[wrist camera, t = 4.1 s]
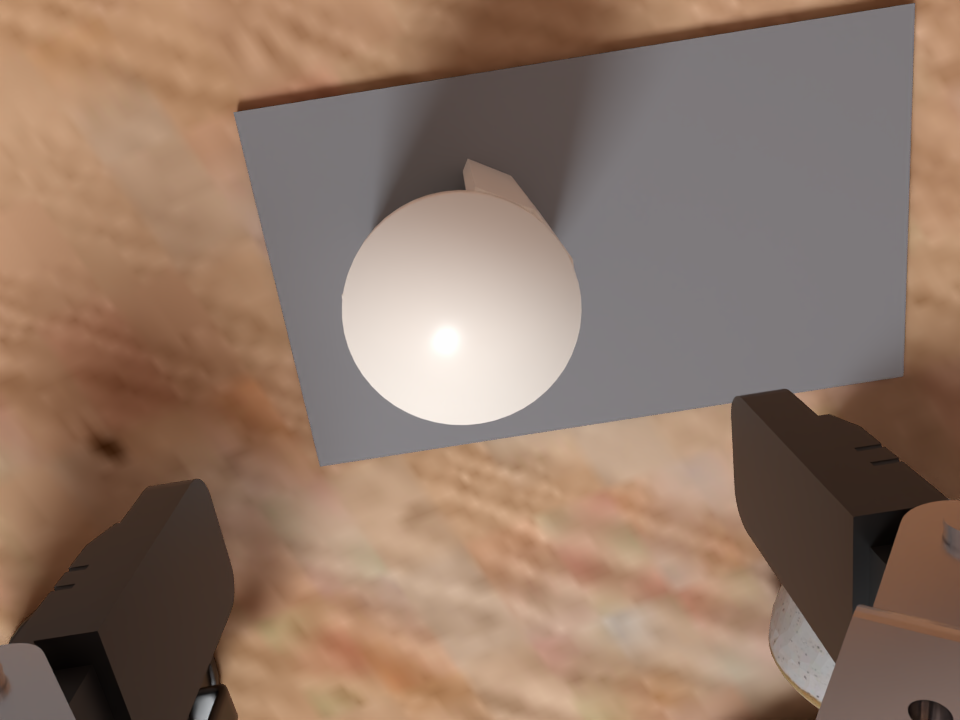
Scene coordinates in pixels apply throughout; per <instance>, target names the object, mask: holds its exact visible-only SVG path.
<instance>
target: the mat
mask: <svg viewBox="0 0 960 720" xmlns="http://www.w3.org/2000/svg"><path fill="white" fill-rule="evenodd" d="M914 20H915V3H912V4H906V5H899V6H893V7H887V8H881V9H875V10H868V11H862V12H856V13H850V14H843V15H837V16H831V17H825V18H818V19H812V20H806V21H800V22H794V23H787V24H781V25H775V26H769V27H762V28H756V29H750V30H744V31H738V32H731V33H725V34H719V35H713V36H706V37H700V38H694V39H688V40H681V41H675V42H669V43H663V44H657V45H650V46H644V47H638V48H632V49H625V50H619V51H613V52H607V53H601V54H594V55H588V56H582V57H576V58H569V59H563V60H557V61H551V62H544V63H538V64H532V65H526V66H520V67H513V68H507V69H501V70H495V71H488V72H482V73H476V74H470V75H464V76H457V77H451V78H445V79H439V80H432V81H426V82H420V83H414V84H408V85H401V86H395V87H389V88H383V89H376V90H370V91H364V92H358V93H351V94H345V95H339V96H333V97H327V98H320V99H314V100H308V101H302V102H295V103H289V104H283V105H277V106H271V107H264V108H258V109H252V110H246V111H239V112H234V116H235V120H236V124H237V128H238V133H239V137H240V141H241V145H242V149H243V153H244V157H245V161H246V165H247V169H248V173H249V178H250V182H251V186H252V190H253V194H254V198H255V202H256V206H257V210H258V214H259V218H260V222H261V227H262V231H263V235H264V239H265V243H266V247H267V251H268V255H269V259H270V263H271V267H272V272H273V276H274V280H275V284H276V288H277V292H278V296H279V300H280V304H281V308H282V312H283V317H284V321H285V325H286V329H287V333H288V337H289V341H290V345H291V349H292V353H293V357H294V362H295V366H296V370H297V374H298V378H299V382H300V386H301V390H302V394H303V398H304V402H305V407H306V411H307V415H308V419H309V423H310V427H311V431H312V435H313V439H314V443H315V447H316V451H317V456H318V460H319V464H320V466H327V465H333V464H340V463H346V462H353V461H359V460H365V459H372V458H378V457H385V456H391V455H398V454H404V453H411V452H417V451H424V450H430V449H437V448H443V447H450V446H456V445H463V444H469V443H476V442H482V441H488V440H495V439H501V438H508V437H514V436H521V435H527V434H534V433H540V432H547V431H553V430H560V429H566V428H573V427H579V426H586V425H592V424H598V423H605V422H611V421H618V420H624V419H631V418H637V417H644V416H650V415H657V414H663V413H670V412H676V411H683V410H689V409H696V408H702V407H708V406H715V405H721V404H728V403H732V402H733V399H734V397H736V396H740V395H747V394H753V393H759V392H766V391H772V390H779V389H788V390H789V391H791V392H792V393H799V392H806V391H812V390H818V389H825V388H831V387H838V386H844V385H851V384H857V383H864V382H870V381H877V380H883V379H890V378H896V377H903V373H904V341H905V309H906V277H907V245H908V213H909V180H910V148H911V116H912V84H913V52H914ZM467 159H470V160H473V161H475V162H478V163H480V164H483V165H485V166H488V167H490V168H493V169H495V170H498V171H500V172H503V173H505V174H508V175H510V176H512V177H513V179H514V180H515V181H516V183H517V184H518V185H519V186H520V188H521V189H522V190H523V192H524V193H525V194H526V196H527V197H528V198H529V199H530V201H531V202H532V203H533V205H534V206H535V207H536V209H537V210H538V211H539V212H540V214H541V215H542V217H543V218H544V219H545V221H546V222H547V224H548V225H549V226H550V228H551V229H552V231H553V232H554V233H555V235H556V236H557V238H558V239H559V240H560V242H561V243H562V245H563V246H564V247H565V249H566V250H567V252H568V253H569V254H570V256H571V257H572V259H573V264H574V270H575V273H576V276H577V280H578V283H579V289H580V294H581V309H582V313H581V324H580V330H579V334H578V339H577V342H576V345H575V348H574V350H573V353H572V356H571V358H570V359H569V361H568V363H567V365H566V367H565V369H564V370H563V372H562V373H561V374H560V376H559V377H558V379H557V380H556V381H555V382H554V383H553V384H552V386H551V387H550V388H549V389H548V390H547V391H546V392H545V393H544V394H542V395H541V396H540V397H539V398H538V399H536V400H535V401H534V402H532V403H531V404H529V405H528V406H526V407H525V408H523V409H521V410H519V411H517V412H515V413H513V414H511V415H509V416H506V417H504V418H501V419H498V420H495V421H490V422H486V423H481V424H472V425H449V424H443V423H436V422H432V421H428V420H425V419H421V418H419V417H416V416H414V415H411V414H409V413H407V412H405V411H403V410H402V409H400V408H398V407H396V406H394V405H393V404H392V403H390V402H389V401H388V400H386V399H385V398H384V397H382V396H381V395H380V394H379V393H378V392H377V391H376V390H375V389H374V388H373V387H372V386H371V385H370V384H369V382H368V381H367V380H366V379H365V377H364V376H363V375H362V373H361V372H360V370H359V368H358V367H357V365H356V363H355V362H354V360H353V357H352V355H351V353H350V350H349V348H348V345H347V341H346V338H345V334H344V328H343V322H342V294H343V291H344V286H345V282H346V279H347V275H348V272H349V270H350V267H351V265H352V263H353V260H354V258H355V256H356V254H357V252H358V251H359V249H360V247H361V246H362V244H363V242H364V241H365V239H366V238H367V237H368V235H369V234H370V233H371V232H372V230H373V229H374V228H375V227H376V226H377V225H378V224H379V223H380V222H381V221H382V220H383V219H384V218H385V217H387V216H388V215H389V214H391V213H392V212H394V211H395V210H396V209H398V208H399V207H401V206H403V205H405V204H407V203H409V202H411V201H412V200H415V199H418V198H420V197H423V196H426V195H429V194H434V193H438V192H442V191H453V190H466V188H465V182H464V176H463V169H464V167H465V164H466V161H467Z"/></svg>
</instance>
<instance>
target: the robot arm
mask: <svg viewBox="0 0 960 720" xmlns="http://www.w3.org/2000/svg"><path fill="white" fill-rule="evenodd" d="M731 421H732V442H733V463H734V484H735V496H736V502H737V507H738V511H739V514H740V517H741V520H742V523H743V525H744V527H745V530H746V531H747V533H748V534H749V536H750V537H751V539H752V540H753V542H754V543H755V545H756V546H757V548H758V549H759V551H760V552H761V554H762V555H763V557H764V558H765V560H766V561H767V563H768V564H769V566H770V567H771V569H772V570H773V572H774V573H775V575H776V576H777V578H778V579H779V581H780V582H781V584H782V585H783V587H784V588H785V589H786V591H787V592H788V594H789V595H790V597H791V598H792V600H793V601H794V603H795V604H796V606H797V607H798V609H799V610H800V612H801V613H802V615H803V616H804V618H805V619H806V621H807V622H808V624H809V625H810V627H811V628H812V630H813V631H814V633H815V634H816V636H817V637H818V639H819V640H820V642H821V643H822V645H823V646H824V647H825V649H826V650H827V652H828V653H829V655H830V656H831V658H832V659H833V661H834V662H835V667H834V670H833V672H832V675H831V678H830V681H829V684H828V686H827V689H826V692H825V695H824V698H823V700H822V703H821V706H820V709H819V712H818V714H817V717H816V720H960V500H949V499H948V498H946V497H945V496H944V495H943V494H941V493H940V492H939V491H938V490H937V489H935V488H934V487H933V486H932V485H931V484H929V483H928V482H927V481H926V480H925V479H923V478H922V477H921V476H920V475H918V474H917V473H916V472H915V471H914V470H912V469H911V468H910V467H909V466H908V465H906V464H905V463H904V462H899V459H898V457H897V456H896V455H894V454H893V453H892V452H891V451H889V450H888V449H887V448H886V447H883V448H882V446H881V443H880V442H879V441H877V440H876V439H875V438H874V437H873V436H871V435H870V434H869V433H868V432H867V431H865V430H864V429H863V428H862V427H860V426H858V425H855V424H853V423H850V422H847V421H845V420H842V419H840V418H837V417H835V416H832V415H830V414H827V415H821V416H818V415H816V414H815V413H814V412H813V411H812V410H811V409H810V408H809V407H807V406H806V405H805V404H804V403H803V402H802V401H801V400H800V399H799V398H797V397H796V396H795V395H794V394H793V393H792V392H791V391H789V390H788V389H779V390H772V391H766V392H759V393H753V394H747V395H740V396H736V397H734V399H733V402H732V407H731ZM54 588H55V591H52V592H50V593H49V594H48V596H47V597H46V598H45V599H44V601H43V602H42V603H41V605H40V606H39V607H38V608H37V610H36V611H35V612H34V614H33V615H32V616H31V617H30V619H29V620H28V621H27V623H26V624H25V625H24V627H23V628H22V629H21V630H20V632H19V633H18V634H17V636H16V637H15V638H14V639H13V641H12V642H11V643H10V644H7V645H1V646H0V720H187V719H188V716H189V714H190V711H191V709H192V706H193V704H194V701H195V699H196V696H197V694H198V691H199V689H200V686H201V684H202V681H203V679H204V677H205V674H206V672H207V669H208V667H209V664H210V662H211V659H212V657H213V654H214V652H215V649H216V647H217V644H218V642H219V639H220V637H221V635H222V632H223V630H224V627H225V625H226V622H227V620H228V617H229V615H230V612H231V609H232V606H233V601H234V577H233V571H232V566H231V563H230V559H229V556H228V553H227V549H226V546H225V543H224V539H223V536H222V533H221V529H220V526H219V523H218V520H217V516H216V513H215V510H214V506H213V503H212V500H211V496H210V493H209V491H208V489H207V487H206V485H205V484H204V482H203V481H202V480H200V479H194V480H187V481H181V482H174V483H168V484H161V485H155V486H149V487H147V488H146V489H145V490H144V491H143V493H142V494H141V495H140V497H139V498H138V499H137V501H136V502H135V503H134V505H133V506H132V508H131V509H130V510H129V512H128V513H127V514H126V516H125V517H124V518H123V520H122V521H121V522H120V523H117V524H114V525H113V526H112V527H110V528H109V529H108V530H106V531H105V532H104V533H102V534H101V535H100V536H98V537H97V538H96V539H94V540H93V541H92V542H90V543H89V544H88V545H86V546H85V548H84V549H83V550H82V552H81V553H80V554H79V556H78V557H77V558H76V559H75V561H74V562H73V563H72V565H71V566H70V567H69V572H65V574H64V575H63V576H62V577H61V579H60V580H59V581H58V583H57V584H56V585H55V587H54Z"/></svg>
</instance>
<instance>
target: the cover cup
mask: <svg viewBox="0 0 960 720" xmlns="http://www.w3.org/2000/svg"><path fill="white" fill-rule="evenodd" d="M463 176H464V182H465V188H466V190H453V191H442V192H438V193H434V194H429V195H426V196H423V197H420V198H418V199H415V200H412V201H411V202H409V203H407V204H405V205H403V206H401V207H399V208H398V209H396V210H395V211H394V212H392V213H391V214H389V215H388V216H387V217H385V218H384V219H383V220H382V221H381V222H380V223H379V224H378V225H377V226H376V227H375V228H374V229H373V230H372V232H371V233H370V234H369V235H368V237H367V238H366V239H365V241H364V242H363V244H362V246H361V247H360V249H359V251H358V252H357V254H356V256H355V258H354V260H353V263H352V265H351V267H350V270H349V272H348V275H347V279H346V282H345V286H344V291H343V294H342V322H343V328H344V334H345V338H346V341H347V345H348V348H349V350H350V353H351V355H352V357H353V360H354V362H355V363H356V365H357V367H358V368H359V370H360V372H361V373H362V375H363V376H364V377H365V379H366V380H367V381H368V382H369V384H370V385H371V386H372V387H373V388H374V389H375V390H376V391H377V392H378V393H379V394H380V395H381V396H382V397H384V398H385V399H386V400H388V401H389V402H390V403H392V404H393V405H394V406H396V407H398V408H400V409H402V410H403V411H405V412H407V413H409V414H411V415H414V416H416V417H419V418H421V419H425V420H428V421H432V422H436V423H443V424H449V425H472V424H481V423H486V422H490V421H495V420H498V419H501V418H504V417H506V416H509V415H511V414H513V413H515V412H517V411H519V410H521V409H523V408H525V407H526V406H528V405H529V404H531V403H532V402H534V401H535V400H536V399H538V398H539V397H540V396H541V395H542V394H544V393H545V392H546V391H547V390H548V389H549V388H550V387H551V386H552V384H553V383H554V382H555V381H556V380H557V379H558V377H559V376H560V374H561V373H562V372H563V370H564V369H565V367H566V365H567V363H568V361H569V359H570V358H571V356H572V353H573V350H574V348H575V345H576V342H577V339H578V334H579V330H580V324H581V313H582V309H581V294H580V289H579V283H578V280H577V276H576V273H575V270H574V264H573V259H572V257H571V256H570V254H569V253H568V252H567V250H566V249H565V247H564V246H563V245H562V243H561V242H560V240H559V239H558V238H557V236H556V235H555V233H554V232H553V231H552V229H551V228H550V226H549V225H548V224H547V222H546V221H545V219H544V218H543V217H542V215H541V214H540V212H539V211H538V210H537V209H536V207H535V206H534V205H533V203H532V202H531V201H530V199H529V198H528V197H527V196H526V194H525V193H524V192H523V190H522V189H521V188H520V186H519V185H518V184H517V183H516V181H515V180H514V179H513V177H512V176H510V175H508V174H505V173H503V172H500V171H498V170H495V169H493V168H490V167H488V166H485V165H483V164H480V163H478V162H475V161H473V160H470V159H467V161H466V164H465V167H464V169H463Z"/></svg>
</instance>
